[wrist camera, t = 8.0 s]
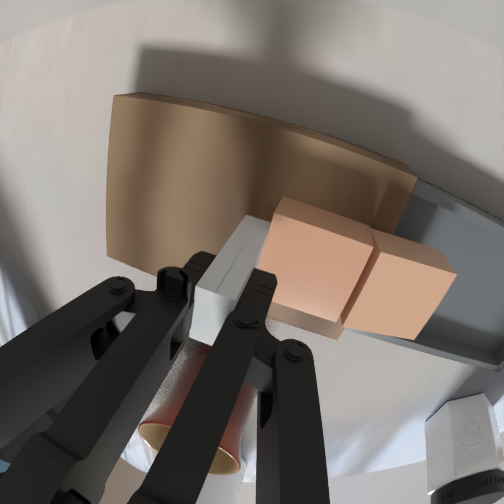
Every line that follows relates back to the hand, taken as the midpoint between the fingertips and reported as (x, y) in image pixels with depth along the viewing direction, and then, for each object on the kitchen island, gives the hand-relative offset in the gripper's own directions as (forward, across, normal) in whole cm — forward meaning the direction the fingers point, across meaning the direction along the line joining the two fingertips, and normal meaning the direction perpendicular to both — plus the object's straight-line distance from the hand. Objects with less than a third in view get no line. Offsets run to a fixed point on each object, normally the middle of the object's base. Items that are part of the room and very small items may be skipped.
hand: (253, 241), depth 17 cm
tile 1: (+2, +8, 0) cm, 8 cm away
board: (+5, -2, 0) cm, 5 cm away
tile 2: (+2, +3, 0) cm, 4 cm away
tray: (+5, +16, 0) cm, 16 cm away
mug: (+5, -1, -18) cm, 19 cm away
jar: (+5, +27, -15) cm, 31 cm away
